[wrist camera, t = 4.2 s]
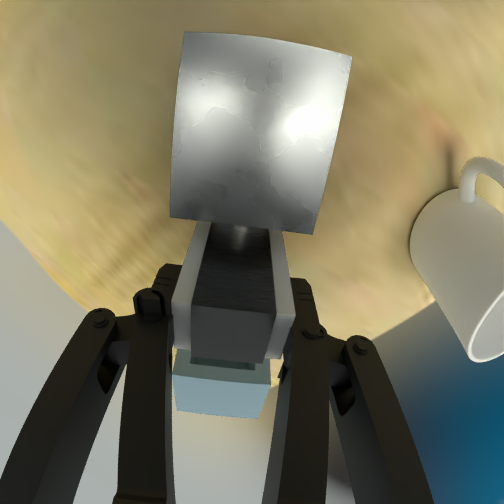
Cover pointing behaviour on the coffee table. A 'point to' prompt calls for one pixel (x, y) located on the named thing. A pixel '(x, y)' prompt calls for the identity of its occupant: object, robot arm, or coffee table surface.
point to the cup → (465, 260)
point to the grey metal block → (254, 130)
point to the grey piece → (234, 295)
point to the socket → (220, 386)
